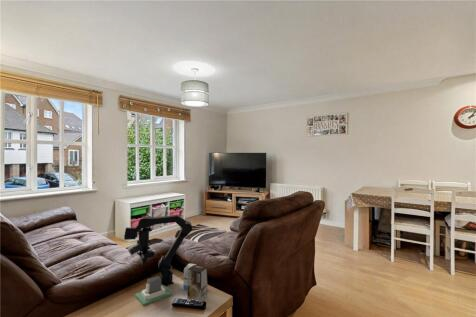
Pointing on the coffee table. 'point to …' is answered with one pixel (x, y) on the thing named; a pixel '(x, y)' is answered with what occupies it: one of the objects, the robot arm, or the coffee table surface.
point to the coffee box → (197, 283)
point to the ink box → (186, 276)
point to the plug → (153, 285)
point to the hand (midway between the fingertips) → (143, 265)
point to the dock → (153, 295)
